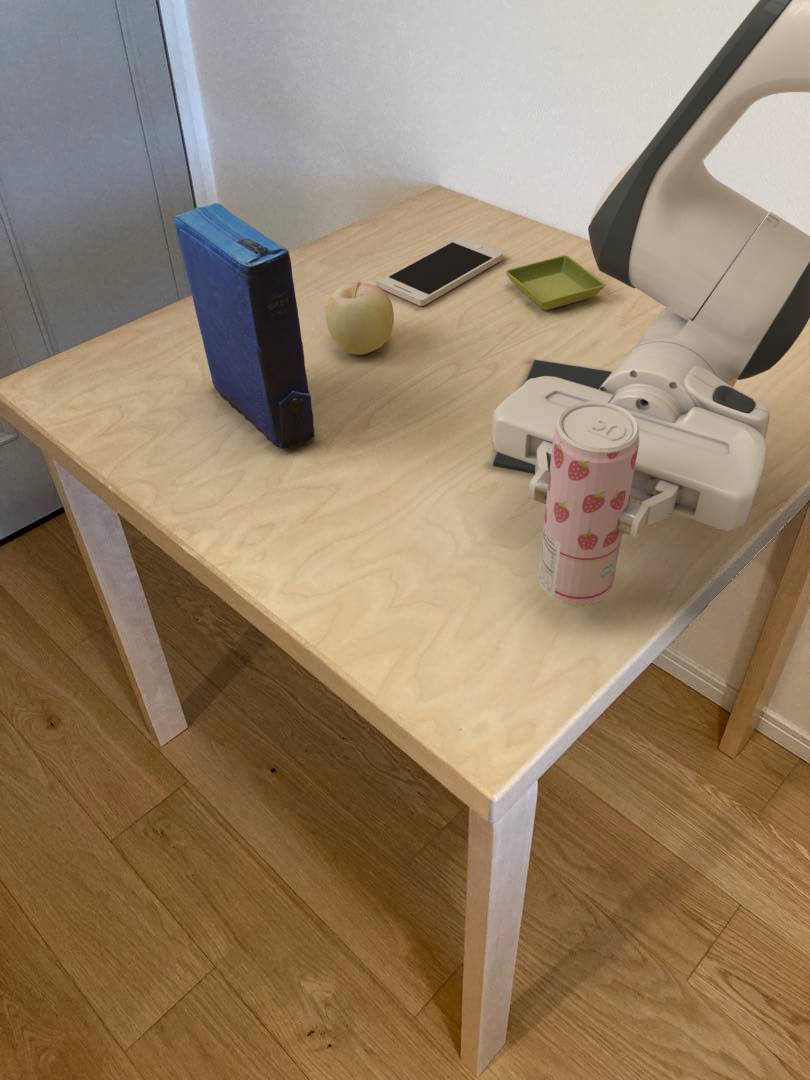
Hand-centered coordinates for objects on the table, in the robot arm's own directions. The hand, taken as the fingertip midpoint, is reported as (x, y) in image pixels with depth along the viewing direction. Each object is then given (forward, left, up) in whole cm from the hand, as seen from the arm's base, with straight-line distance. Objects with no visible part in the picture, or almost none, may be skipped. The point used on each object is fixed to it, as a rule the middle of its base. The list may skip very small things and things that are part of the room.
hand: (582, 511), depth 63 cm
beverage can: (0, -1, -8) cm, 8 cm away
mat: (+1, -25, -11) cm, 27 cm away
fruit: (+29, -32, -11) cm, 45 cm away
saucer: (+11, -49, -11) cm, 51 cm away
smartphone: (+25, -50, -11) cm, 57 cm away
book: (+34, -17, -11) cm, 40 cm away
